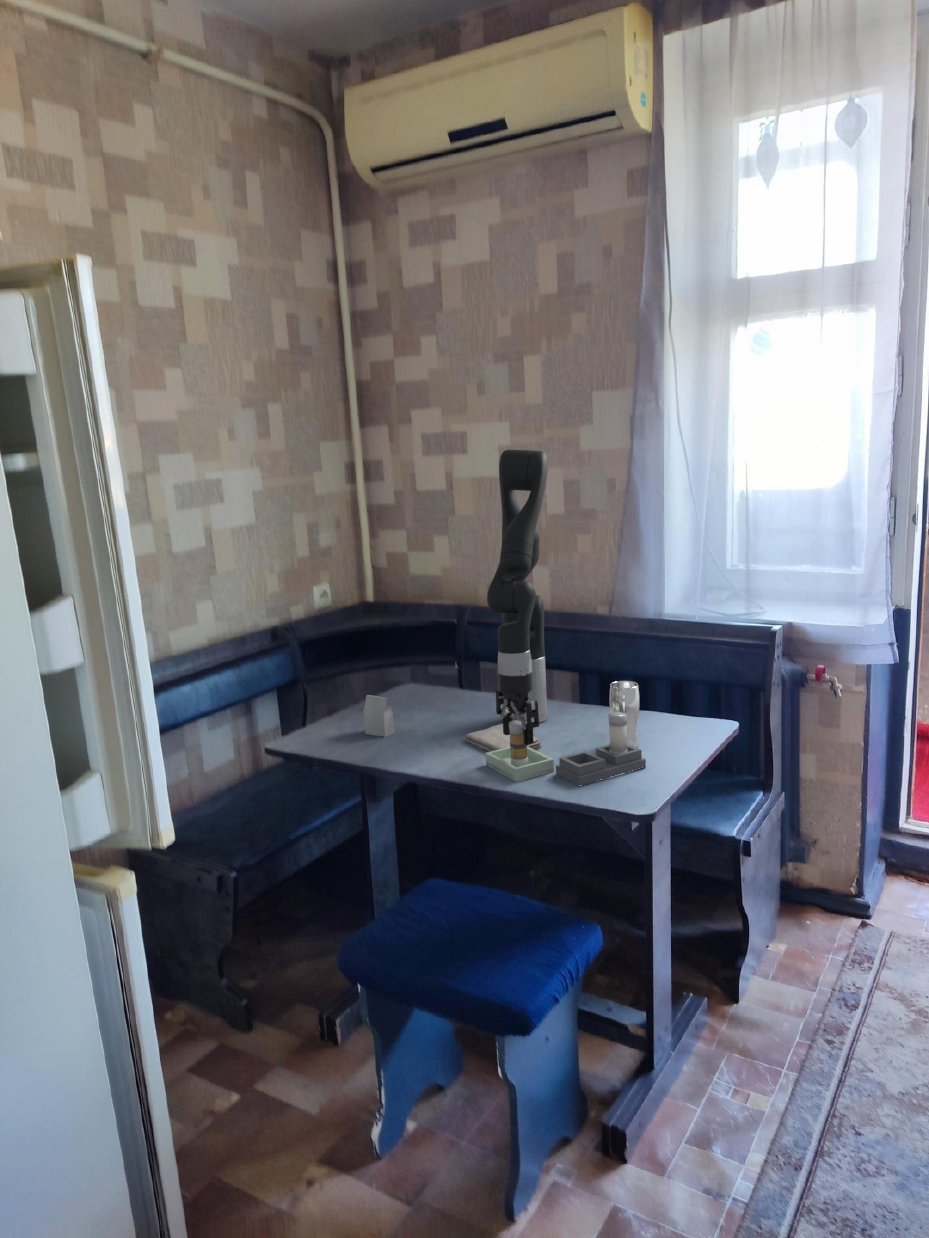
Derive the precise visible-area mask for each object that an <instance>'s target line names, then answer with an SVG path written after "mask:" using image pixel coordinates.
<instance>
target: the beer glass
mask: <svg viewBox="0 0 929 1238" xmlns="http://www.w3.org/2000/svg"><path fill="white" fill-rule="evenodd" d="M609 685H610V688H609V708H610V709H609V710H610V713H613V712H622V713H625V714H627V724H626V727H627V744H628V745H631V746H633V747H635V748H638V745H639V740H638V736H637V735H638V734H637V725H638V719H639V713H640V691H639V684H638V683H637V682H636V681H632V680H619V681H613V682H611V683H610V684H609Z"/></svg>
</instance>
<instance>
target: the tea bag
mask: <svg viewBox="0 0 929 1238" xmlns="http://www.w3.org/2000/svg"><path fill="white" fill-rule="evenodd" d="M362 711H363V712H362V713H363V715H362V716H363V723H364V734H365V735H370V736H375V737H381V736H384V737H383V738H387V737H389V736H391V735H393V734H395V728H394V727H395V726H394V715H393V714H394V713H393V709H392V706H391V705H390V702H389V698H388V697H384V696H378V695H372V694H371V695H370V694H367V695H365V703H364V707H363V710H362ZM386 736H387V737H386Z"/></svg>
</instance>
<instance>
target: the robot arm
mask: <svg viewBox="0 0 929 1238" xmlns="http://www.w3.org/2000/svg"><path fill="white" fill-rule="evenodd" d="M548 463H549V462H548V457H547V454H546V453H545V451H542V450H532V449H531V450H530V449H505V450H504V451H502V452H501V454H500V457H499V461H498V478H499V491H500V503H501V520H502V521H501V547H500V555H499V556H500V557H499V562H498V566H497V568H496V570H495V573H494V576H493V577H492V580H491V583H490V584H489V587H488V590H487V593H486V600H487V602H486V603H487V605H488V607H489V609H490V611H492V612H493V613H495V614H501V620H502V624H501V625H499V626H498V627H497V635H496V636H497V649H498V650H497V675H498V677H497V678H498V689H496V690H495V707H496V709H495V710H496V714H497V715H500V719H501V720H502V724H503V734H504V735H510V732H509V722H511V721H514V720H519V721H521V724H522V726H523V743H524V744H525V745H530V744H533V736H534V728H538V727H540V723H544V722H545V721H547V719H548V700H547V699H548V698H547V678H546V677H547V675H546V673H547V672H546V653H545V605H544V600H543V598H542V597H541V596H540V594H537V591H536V589H535V587H534V586H533V584H532V583H531V582H529V581H525V580H526V579H527V578H528V577H529V575H530V574H531V572H533V570H534V569H535V567H536V565H537V564H538V561H539V559H540V533H539V529H538V528H537V525H538V522H539V521H538V520H539V517H540V513H541V509H542V504H543V500H544V496H545V491H546V486H547V479H548V472H549V468H548V467H549V466H548V465H549V464H548ZM516 491H523V492H524V491H526V492H529V495H528V498H527V500H526V502H525V504H524V505H523V506H522V505H521V502H520V500H519V497H518V495H517V492H516ZM526 722H527V724H526Z"/></svg>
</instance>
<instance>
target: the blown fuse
mask: <svg viewBox="0 0 929 1238" xmlns="http://www.w3.org/2000/svg"><path fill="white" fill-rule="evenodd" d="M526 724H527V722H526ZM509 732H510V750H511V756H510V760H511V765H513V766H515V767H520V766H524V765H528V755H527V745H525V744H524V743H523V726H522V724H521V721H519V720H514V721H513V720H512V721H511V722H509Z"/></svg>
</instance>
